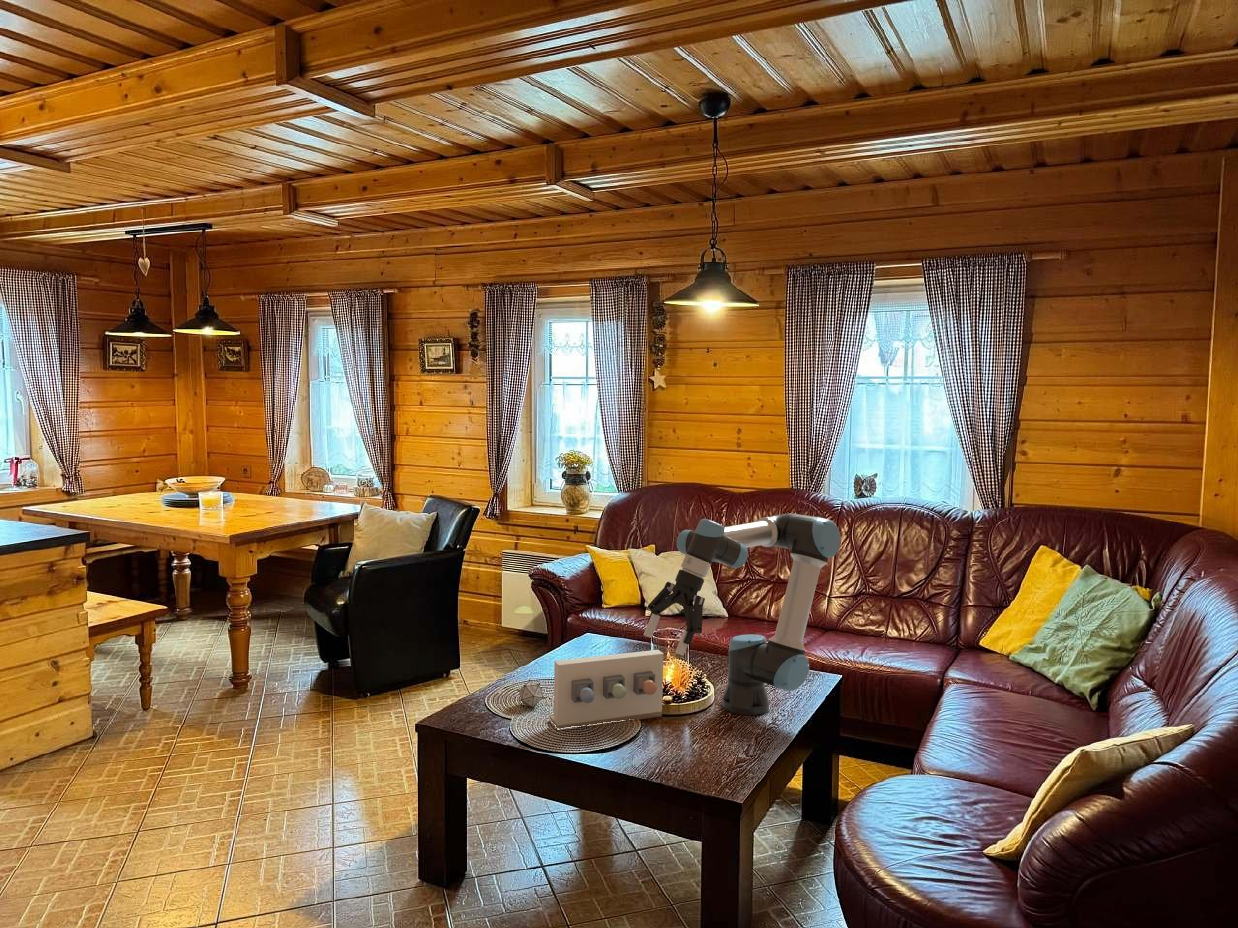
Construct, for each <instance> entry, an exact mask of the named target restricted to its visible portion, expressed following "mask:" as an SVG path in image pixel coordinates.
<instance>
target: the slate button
mask: <svg viewBox="0 0 1238 928" xmlns="http://www.w3.org/2000/svg"><path fill="white" fill-rule="evenodd" d="M579 696H580V699H581V700H582V701H583V702H585V703H590V702H592V701H593V699H594V697H595V694H594V692H593V691H592V690H591V689H590V688H588V687H586V688H583V689H582V690H581V691H580V694H579Z"/></svg>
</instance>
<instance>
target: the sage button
mask: <svg viewBox="0 0 1238 928" xmlns="http://www.w3.org/2000/svg"><path fill="white" fill-rule="evenodd" d="M611 693H612V695H613V696H614V697H615V698H617V699H622V698H623V697H624V696H625V695H626V688H625V687H624V686H623V685H621V684H615V685H614V686H613V687H612V689H611Z"/></svg>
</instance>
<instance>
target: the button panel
mask: <svg viewBox="0 0 1238 928" xmlns="http://www.w3.org/2000/svg"><path fill="white" fill-rule="evenodd" d="M664 655H665V654H664V653H663V652H662V651H661V650H659V649H653V650H644V651H635V652H624V653H619V654H618V653H616V654H607V655H597V656H587V657H578V658H571V659H570V658H569V659H561V660H554V665H553V666H554V669H553V671H554V673H553V674H554V677H553V679H554V682H553V715H549V720H550V719H551V720H552V722H553V723H554V724H555V725H556V727H557V728H564V727H571V726H581V725H589V724H597V723H603V722H611V721H620V720H629V719H639V720H644V719H645V720H646V719H651V718H659V717H662V716H663V685H664V684H663V683H664ZM646 680H652V681H653V682H654V683H655V684H656V685H657V690H656V692H655V693H654V694H652V695H648V694H646V693H645V692H644V691H643V689H642V685H643V683H644V682H645V681H646ZM615 684H621V685H623V686H624V687H625V688H626V695H625V696H624V697H623V698H622V699H617V698H615V697H614V696H613V695H612V693H611V689H612V687H613V686H614V685H615ZM586 687H588V688H590V689H591V690H592V691H593V692H594V694H595V697H594V699H593V701H592V702H590V703H585V702H583V701H582V700H581V699H580V696H579V694H580V691H581V690H582V689H583V688H586Z"/></svg>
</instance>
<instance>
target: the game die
mask: <svg viewBox="0 0 1238 928" xmlns="http://www.w3.org/2000/svg"><path fill="white" fill-rule="evenodd" d="M542 689H543V686H542V687H541V682H539V683H535V682H533V681H531V679H530V678H529V679H528V682H527V683H524V684H523V686H522V687H521V688H520V689H519V688H518V689H516V691H517V692H519V693H518V694H519V696H520V699H519V702H521V705H522V704H524V705H527V706H528V707H531V709H532V708H534V706H536V705H537V703H538V704H539V703H540V701H542V700H546V697H545V696H544V695H543V692H542Z"/></svg>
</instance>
